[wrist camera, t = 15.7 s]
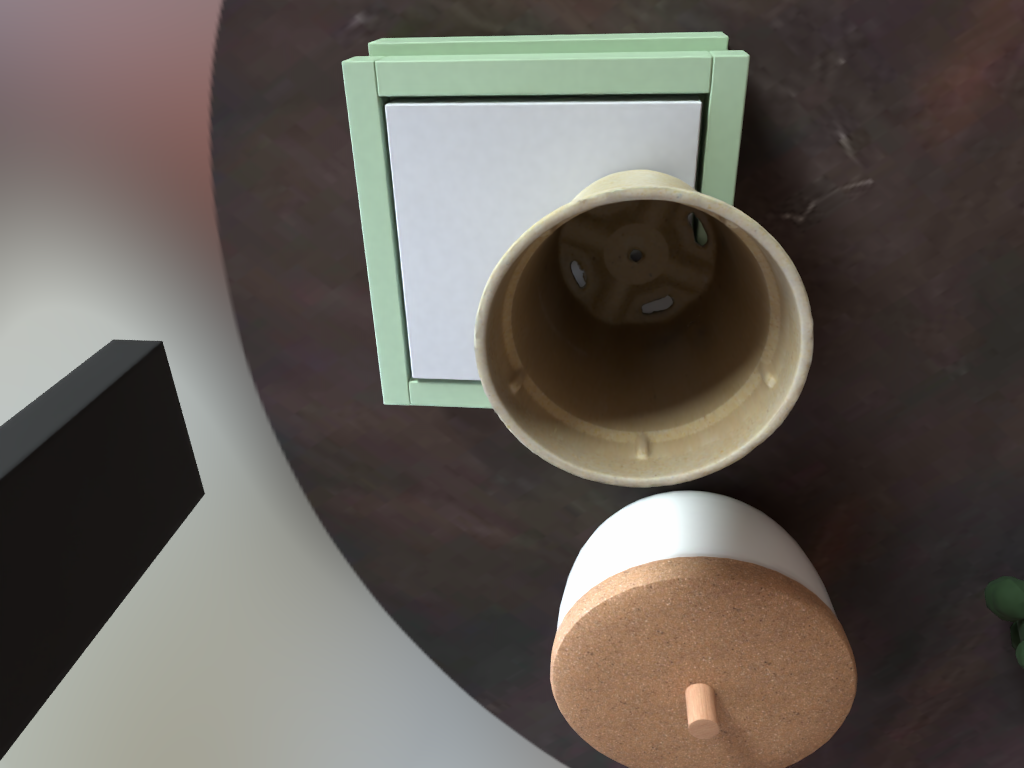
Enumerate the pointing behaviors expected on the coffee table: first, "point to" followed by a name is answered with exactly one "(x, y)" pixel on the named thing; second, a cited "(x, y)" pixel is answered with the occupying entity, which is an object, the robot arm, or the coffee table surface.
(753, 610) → the lidded bowl
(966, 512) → the coffee table surface
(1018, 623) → the toy figurine
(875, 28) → the coffee table surface
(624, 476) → the flower pot
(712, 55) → the scale
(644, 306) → the pan
